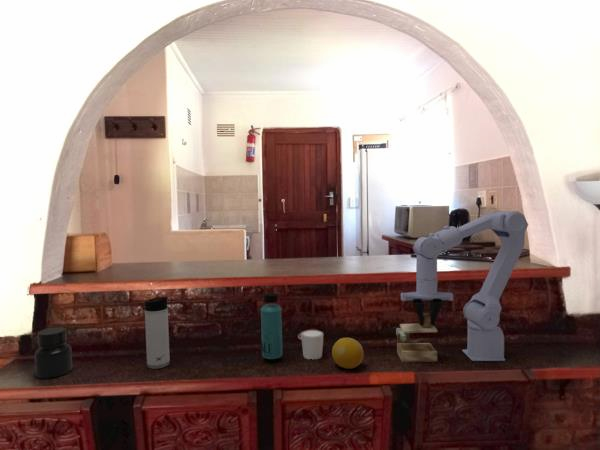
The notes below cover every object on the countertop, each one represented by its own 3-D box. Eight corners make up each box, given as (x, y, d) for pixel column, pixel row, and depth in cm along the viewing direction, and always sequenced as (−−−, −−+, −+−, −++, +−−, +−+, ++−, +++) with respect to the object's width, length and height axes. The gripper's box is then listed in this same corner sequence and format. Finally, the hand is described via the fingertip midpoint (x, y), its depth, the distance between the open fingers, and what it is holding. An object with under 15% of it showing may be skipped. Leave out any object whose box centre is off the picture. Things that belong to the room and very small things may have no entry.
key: (402, 334, 128) (402, 328, 128) (407, 341, 122) (407, 335, 121) (396, 334, 128) (396, 328, 128) (400, 341, 122) (400, 335, 122)
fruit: (365, 362, 115) (364, 335, 115) (361, 374, 108) (361, 345, 107) (335, 359, 118) (334, 333, 117) (329, 371, 110) (329, 342, 109)
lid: (431, 325, 119) (431, 311, 119) (437, 332, 113) (437, 317, 113) (399, 325, 120) (399, 312, 120) (403, 333, 113) (403, 318, 113)
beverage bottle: (284, 355, 121) (283, 291, 120) (281, 364, 115) (280, 296, 113) (263, 355, 122) (262, 291, 121) (259, 364, 115) (257, 296, 114)
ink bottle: (77, 364, 118) (75, 324, 117) (69, 376, 109) (66, 334, 109) (40, 368, 115) (38, 327, 115) (28, 381, 107) (26, 337, 106)
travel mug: (163, 369, 113) (160, 300, 111) (142, 368, 114) (139, 299, 113) (174, 361, 119) (172, 295, 118) (154, 359, 120) (152, 294, 119)
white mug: (324, 360, 117) (324, 337, 117) (301, 360, 118) (300, 337, 117) (323, 351, 124) (323, 329, 124) (301, 351, 124) (301, 329, 124)
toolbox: (429, 351, 123) (429, 333, 122) (437, 361, 115) (437, 342, 114) (396, 351, 123) (396, 333, 122) (402, 362, 115) (402, 342, 115)
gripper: (447, 275, 119) (447, 320, 120) (398, 276, 120) (398, 320, 120) (455, 280, 112) (455, 327, 113) (403, 280, 112) (403, 327, 113)
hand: (426, 324), depth 116 cm, fingers closed on lid, 3 cm apart
